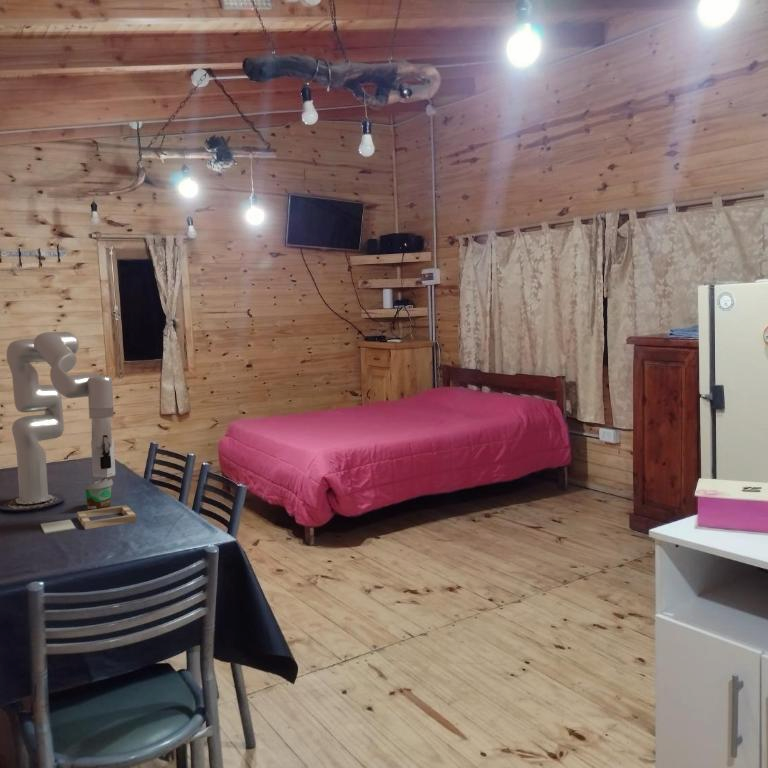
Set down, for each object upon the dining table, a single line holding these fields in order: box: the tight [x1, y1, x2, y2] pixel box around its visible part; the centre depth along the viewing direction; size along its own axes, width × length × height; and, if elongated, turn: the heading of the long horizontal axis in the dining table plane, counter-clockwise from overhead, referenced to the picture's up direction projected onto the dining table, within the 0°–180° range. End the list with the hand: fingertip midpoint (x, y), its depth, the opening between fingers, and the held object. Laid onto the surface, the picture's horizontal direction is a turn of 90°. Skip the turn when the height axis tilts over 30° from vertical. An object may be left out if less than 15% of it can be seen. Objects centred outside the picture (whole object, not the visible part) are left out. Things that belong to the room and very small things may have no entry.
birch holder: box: [76, 504, 138, 530], centre depth 240 cm, size 16×16×2 cm
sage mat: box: [40, 519, 76, 534], centre depth 233 cm, size 11×9×1 cm
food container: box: [83, 476, 114, 511], centre depth 255 cm, size 12×6×10 cm, turn 168°
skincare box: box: [90, 439, 116, 478], centre depth 239 cm, size 6×4×12 cm
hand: (103, 465), depth 239 cm, fingers closed on skincare box, 7 cm apart
